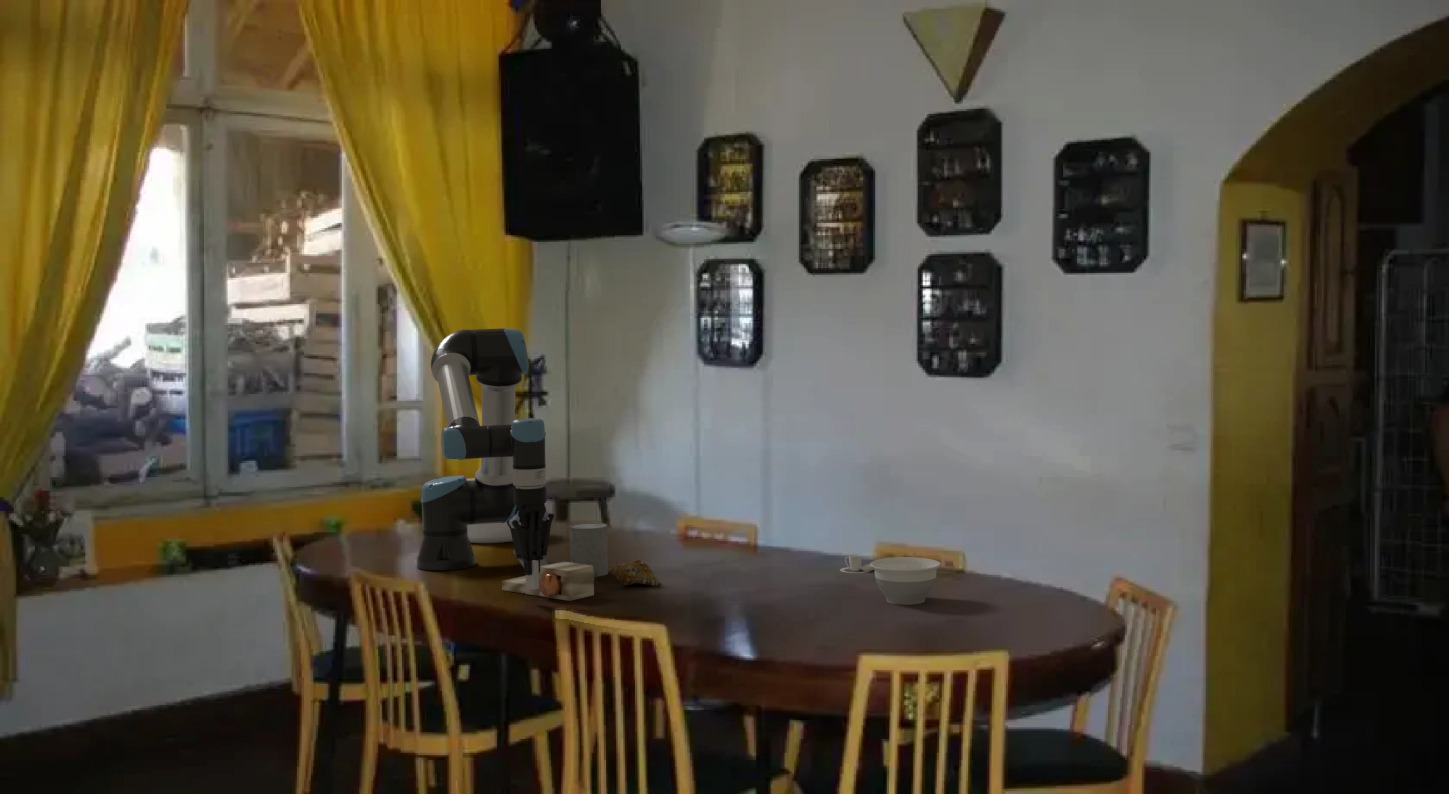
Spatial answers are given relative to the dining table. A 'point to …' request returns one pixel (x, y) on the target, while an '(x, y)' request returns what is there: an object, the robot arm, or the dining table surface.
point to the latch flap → (542, 562)
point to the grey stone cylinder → (590, 546)
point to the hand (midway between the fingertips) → (532, 588)
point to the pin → (551, 585)
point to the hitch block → (573, 581)
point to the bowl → (905, 578)
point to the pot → (489, 531)
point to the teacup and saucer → (856, 565)
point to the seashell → (634, 573)
